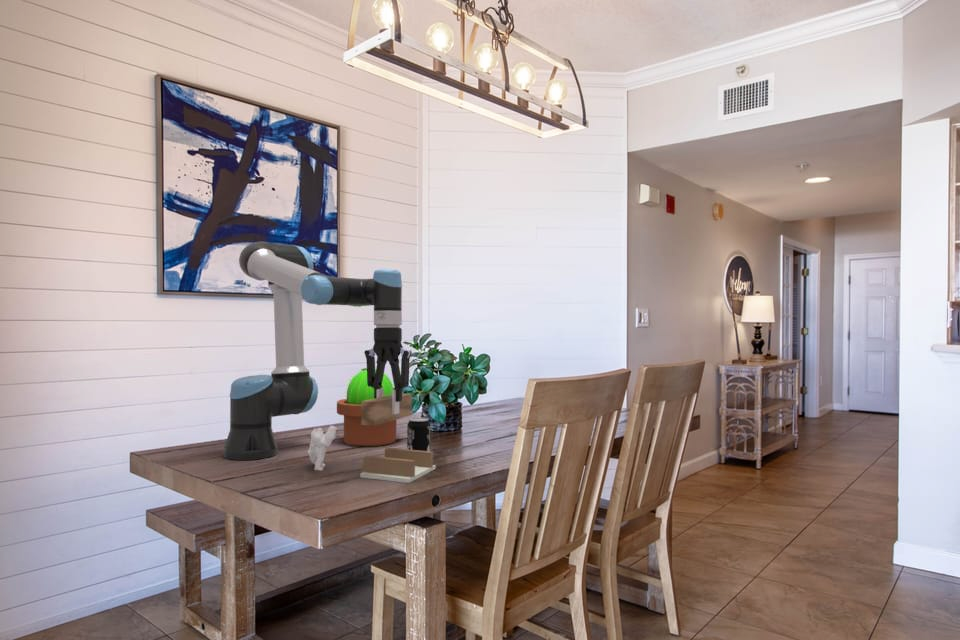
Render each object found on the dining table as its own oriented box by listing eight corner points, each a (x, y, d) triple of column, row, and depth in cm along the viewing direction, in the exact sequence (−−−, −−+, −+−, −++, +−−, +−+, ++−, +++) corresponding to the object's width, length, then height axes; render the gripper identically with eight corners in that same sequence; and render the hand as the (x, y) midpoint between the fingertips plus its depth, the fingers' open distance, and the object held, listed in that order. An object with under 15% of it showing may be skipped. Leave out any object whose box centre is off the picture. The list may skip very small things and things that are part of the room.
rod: (361, 424, 156) (361, 401, 156) (399, 414, 174) (399, 393, 175) (375, 425, 154) (375, 401, 154) (411, 415, 173) (411, 393, 173)
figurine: (339, 469, 165) (339, 425, 165) (323, 473, 161) (324, 427, 161) (315, 463, 172) (316, 421, 172) (300, 466, 168) (300, 423, 168)
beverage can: (426, 463, 173) (426, 421, 173) (403, 462, 175) (404, 420, 175) (432, 458, 180) (432, 417, 180) (411, 457, 181) (411, 416, 181)
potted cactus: (399, 448, 193) (399, 369, 194) (329, 448, 193) (330, 369, 193) (406, 435, 215) (407, 365, 216) (344, 435, 215) (344, 364, 215)
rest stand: (360, 477, 157) (360, 458, 157) (390, 464, 172) (390, 446, 172) (408, 482, 152) (408, 462, 152) (435, 468, 167) (435, 450, 167)
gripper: (353, 326, 164) (353, 413, 164) (409, 326, 158) (409, 416, 158) (367, 327, 171) (367, 410, 171) (422, 326, 165) (422, 412, 165)
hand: (388, 413), depth 164 cm, fingers closed on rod, 4 cm apart
